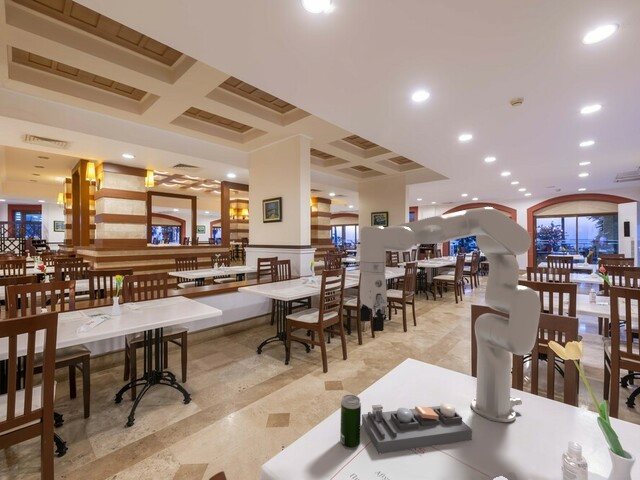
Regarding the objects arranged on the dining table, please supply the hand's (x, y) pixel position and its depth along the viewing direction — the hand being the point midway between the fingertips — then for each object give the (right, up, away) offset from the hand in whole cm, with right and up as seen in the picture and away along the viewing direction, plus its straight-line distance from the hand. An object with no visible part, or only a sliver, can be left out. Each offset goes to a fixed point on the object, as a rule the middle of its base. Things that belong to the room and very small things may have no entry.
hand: (371, 325), depth 86 cm
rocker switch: (+16, -25, -1) cm, 30 cm away
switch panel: (+12, -30, -2) cm, 33 cm away
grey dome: (+9, -26, -3) cm, 28 cm away
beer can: (-7, -30, -7) cm, 32 cm away
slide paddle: (+2, -27, -1) cm, 27 cm away
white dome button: (+23, -26, 0) cm, 35 cm away
